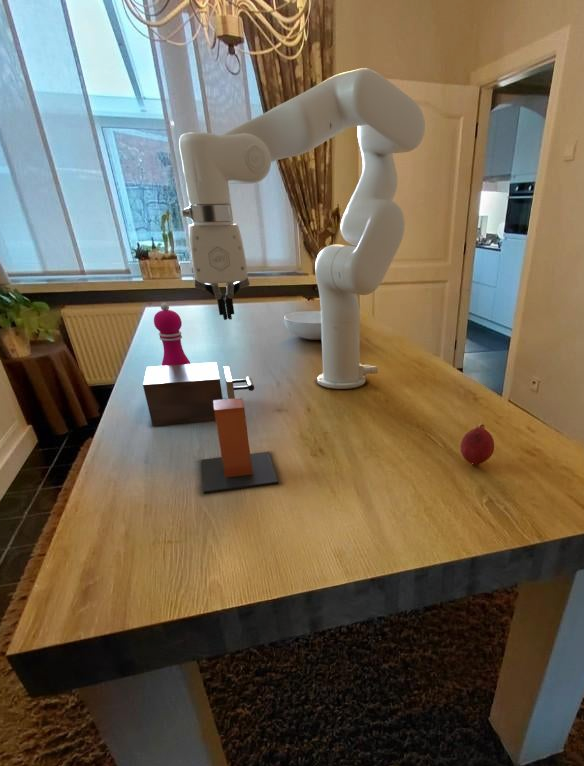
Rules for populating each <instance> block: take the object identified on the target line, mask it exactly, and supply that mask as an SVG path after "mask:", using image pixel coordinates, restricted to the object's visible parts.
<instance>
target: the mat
mask: <svg viewBox="0 0 584 766" xmlns="http://www.w3.org/2000/svg"><path fill="white" fill-rule="evenodd" d="M250 457H251V464H252V472H253V474H252V475H244V476H236V477H229V478H225V474H224V468H223V462H222V456H219V457H211V458H203V459H201V469H202V470H201V471H202V472H201V473H202V487H203V494H210V493H218V492H225V491H233V490H241V489H248V488H255V487H263V486H270V485H277V484H278V485H279V480H278V476H277V474H276V470H275V467H274V464H273V462H272V458H271V454H270V452H269V451H264V452H255V453H254V452H253V453H250Z"/></svg>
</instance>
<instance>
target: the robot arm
mask: <svg viewBox="0 0 584 766" xmlns="http://www.w3.org/2000/svg"><path fill="white" fill-rule="evenodd" d="M353 127H354V128H355V127H357V128H356V129H357V130H356V131H357V132H356V134H357V141H358V145H359V147H360V149H359V150H360V152H361V153H360V154H361V158H362V171H361V175H360V178H359V180H358V182H357V185H356V187H355V189H354V191H353V193H352V195H351V198H350V200H349V202H348V204H347V206H346V209H345V211H344V213H343V215H342V218H341V221H340V234H341V236H342V238H343V239H344V240H345V242H347V243H348V244H350V245H348V244H339V243H337V244H330V245H327V246H325V247H324V248H322V249H321V250H320V252H319V253H318V254H317V257H316V260H315V265H314V273H315V279H316V284H317V285H316V286H317V289H318V295H319V304H320V305H319V306H320V311H321V333H322V340H321V357H322V373H320V374H319V375H318V376H317V378H316V380H317V381H316V382H317V384H318V385H320V386H321V387H324V388H328V389H334V390H348V389H349V390H350V389H354V388H359V387H362V386H363V385H365V383H366V381H367V379H366V378H367V377H366V376H367V375H369V374H370V375H375V374H378V372H379V369H378V365H373V366H372V365H370V364H364V365H363V364H362V363H361V362H360V361H361V359H360V357H361V355H360V354H361V352H360V351H361V336H360V335H361V307H360V303H359V297H358V296H367V295H370V294H373V293H375V291H376V290H377V289H378V288H379V287H380V285H381V283H382V282H383V280H384V278H385V276H386V275H387V272H388V270H389V268H390V267H391V264H392V263H393V260H394V258H395V256H396V254H397V252H398V249H399V248H400V245H401V243H402V241H403V238H404V233H405V226H406V225H405V224H406V222H405V215H404V211H403V210H402V208H401V206H399V204H397V203H396V202H395V201H393V199H394V198H395V195H396V192H397V189H398V174H397V169H396V164H395V159H394V155H393V154H403V153H409V152H412V151H414V150H415V149H417V148H418V147H419V146H420V144H421V143H422V141H423V139H424V136H425V132H426V121H425V116H424V113H423V110H422V108H421V107H420V106H419V104H418V102H416V101H415V100H414V99H413V98H412V97H411V96H409V95H408V94H407V93H405V91H403V90H402V89H400V88H399V87H398V86H396V85H395V84H393V83H392V82H391V81H390V80H389V79H387V78H386V77H384V76H382V74H380V73H379V72H377V71H374V70H372V69H370V68H367V67H362V68H361V67H360V68H357V69H354V70H350V71H345V72H341V73H338V74H335V75H333V76H331V77H328V78H327V79H325V80H323V81H322V82H320V83H318V84H316V85H314V86H313V87H311V88H309V89H307V90H306V91H304V92H302V93H299V94H298V95H296V96H294V97H292V98H290V99H288V100H287V101H285V102H282V103H280V104H278V105H275V106H274V107H272V108H271V109H270V110H267V111H266V112H264V113H262V114H259V115H257V116H255V117H253V118H252V119H249V120H247V121H245V122H243V123H242V124H240V125H237V126H236V127H234V128H232V129H230V130H228V131H226V132H224V133H223V134H221V135H218V134H215V133H212V132H211V133H210V132H200V131H199V132H198V131H197V132H185V133H183V134H181V135H180V137H179V140H178V146H179V153H180V158H181V165H182V171H183V176H184V182H185V187H186V195H187V199H188V200H187V201H188V204H189V206H187V207H186V208H181V212H182V217H183V218H188V219H189V220H191V223H192V224H189V225H188V242H189V251H190V259H191V266H192V272H193V275H194V288H195V289H197V290H201V291H207V292H208V293H210V294H211V295H212V296H213V297H214V298H215V299H216V301H217V308H218V312H219V313H218V315H219V316H222V317H223V320H224V321H227V320H230V321H231V320H233V317H232V315H235V308H234V300H233V298H234V297H235V295H236V294H237V293H238V291H239V290H240V289H245V288H246V287H249V286H250V285H251V284H250V280H249V277H248V267H247V260H246V253H245V249H244V242H243V239H242V234H241V230H240V226H239V224H238V223H234V219H233V218H234V217H233V209H232V202H231V194H230V186H229V185H237V184H240V185H241V184H242V185H244V184H245V185H250V184H251V185H252V184H257V183H260V182H261V181H263V180H264V179H265V178H266V177H267V176H268V175H269V172H270V171H271V166H272V163H273V162H275V161H279V160H283V159H287V158H293V157H297V156H301V155H303V154H305V153H309V152H310V151H312V150H314V149H316V148H318V147H319V146H321V145H323V144H324V143H325V142H327V141H329V140H331V139H333V138H334V137H336V136H338V135H339V134H341V133H342V132H345V131H346V130H348V129H350V128H353ZM219 284H225V285H226V287H225V288H226V293H224V296H225V297H224V296H223V293H222V292H221V290H220V287H219Z"/></svg>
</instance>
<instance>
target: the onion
mask: <svg viewBox="0 0 584 766" xmlns="http://www.w3.org/2000/svg"><path fill="white" fill-rule="evenodd" d="M485 427H486V426H485V424H484V423H482V422H481V423H478V424H477V425H476V427H475V428H473V429H471V430H469V431H468V432H466V433H465V434H464V436H463V437H462V440H461V443H460V453H461V455H462V457H463V459H464V460H465V461H466V462H467V461H468V462H467V463H468V464H470V465H472V466H474V467H476V466H477V467H478V466H479V465H481V464H483V463H485V462H487V461H488V460H489V459H490V458H491V457H492V456H493V455H494V452H495V451H494V450H495V441H494V438H493V436H492V434H491V433H490V432H489V431H487V430H486V429H485ZM472 463H473V464H472ZM480 463H481V464H480Z"/></svg>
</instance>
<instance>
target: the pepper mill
mask: <svg viewBox="0 0 584 766" xmlns="http://www.w3.org/2000/svg"><path fill="white" fill-rule="evenodd" d="M153 324H154V327H155V329H156V330H158V336H159V340H160V341H161V342H162V347H163V358H162V362H161V366H169V365H183V364H192V363H191V361H190V360H189V358H188V356H187V355H186V354H185V351H184V349H183V346H182V339H183V336H182V332H181V330H180V329H182V326H183V325H182V324H183V322H182V319H181V317H180V315H179V314H178V313H177V312H176V311H174V310H172V309H171V310H170V305H169V304H168V303H167V302H162V303H161V304H160V310H159V311H157V312H156V313H155V314H154V317H153Z"/></svg>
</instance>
